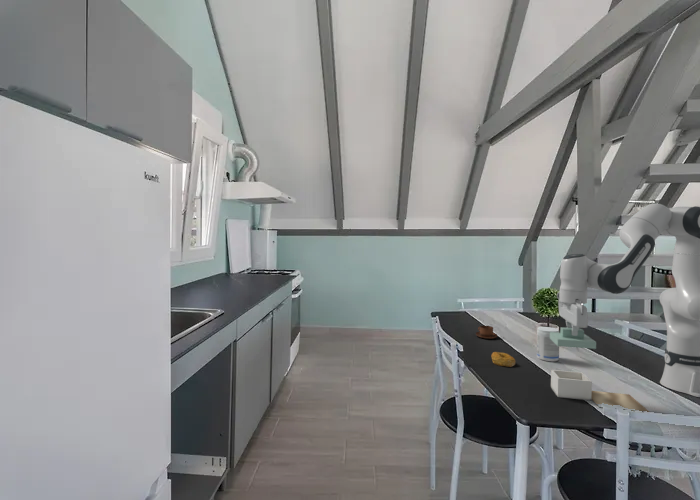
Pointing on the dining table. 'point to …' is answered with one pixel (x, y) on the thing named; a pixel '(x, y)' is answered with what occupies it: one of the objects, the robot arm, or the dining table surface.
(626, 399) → the cork mat
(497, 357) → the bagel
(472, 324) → the dining table surface
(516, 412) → the dining table surface
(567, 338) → the lid
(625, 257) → the robot arm
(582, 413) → the dining table surface
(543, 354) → the supplement tub
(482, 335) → the cup and saucer
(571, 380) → the storage box
